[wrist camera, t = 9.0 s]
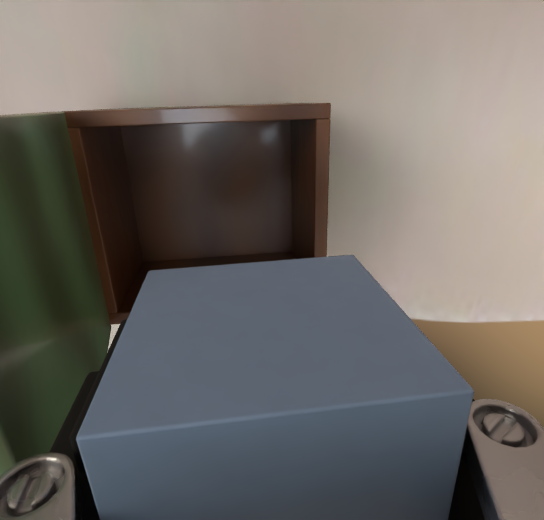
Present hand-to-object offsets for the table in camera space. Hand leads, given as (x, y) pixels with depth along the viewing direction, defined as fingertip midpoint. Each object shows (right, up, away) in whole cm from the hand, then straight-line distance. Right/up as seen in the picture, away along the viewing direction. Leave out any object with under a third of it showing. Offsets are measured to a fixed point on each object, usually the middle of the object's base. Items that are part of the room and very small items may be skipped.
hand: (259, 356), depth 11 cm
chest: (-4, +8, +21) cm, 23 cm away
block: (0, 0, 0) cm, 0 cm away
